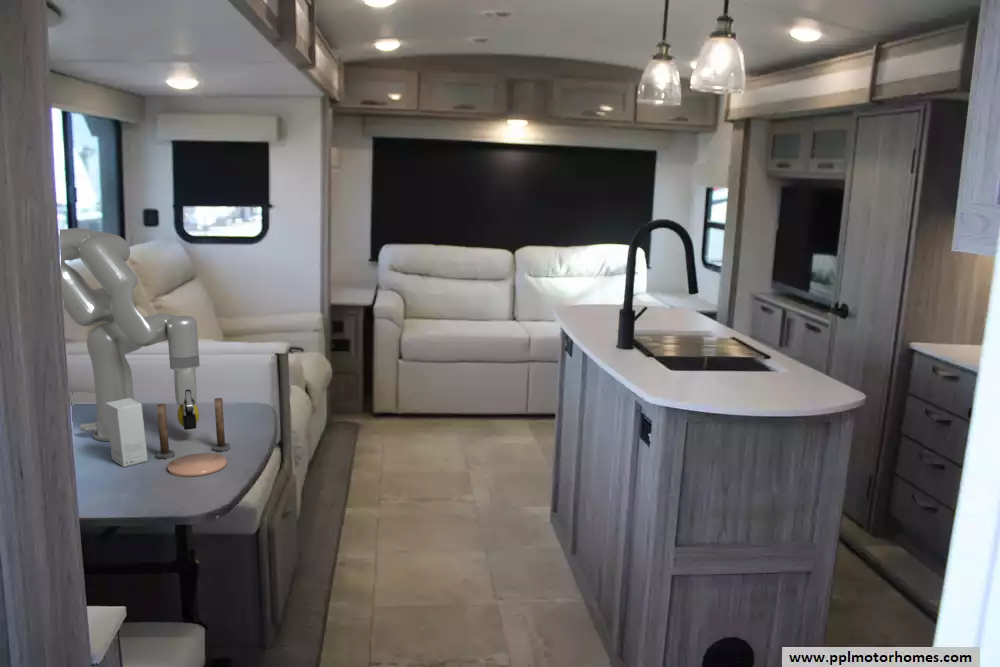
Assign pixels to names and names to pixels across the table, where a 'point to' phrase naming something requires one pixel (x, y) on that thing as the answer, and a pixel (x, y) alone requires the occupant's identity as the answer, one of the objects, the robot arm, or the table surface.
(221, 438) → the right dowel
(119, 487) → the table surface
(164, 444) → the left dowel
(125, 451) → the skincare box
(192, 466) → the plate
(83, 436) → the table surface
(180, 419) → the lemon
